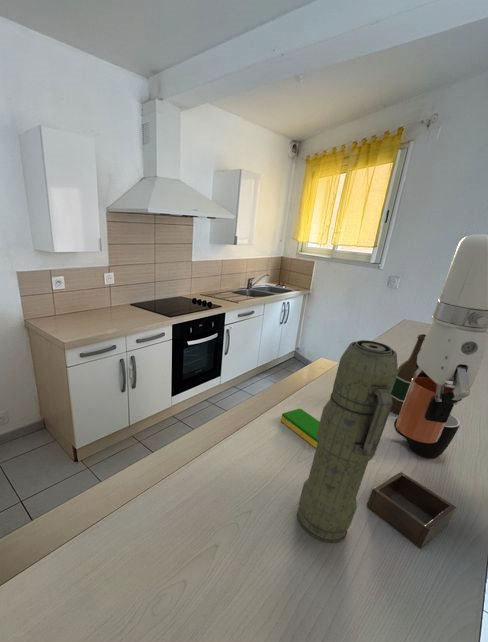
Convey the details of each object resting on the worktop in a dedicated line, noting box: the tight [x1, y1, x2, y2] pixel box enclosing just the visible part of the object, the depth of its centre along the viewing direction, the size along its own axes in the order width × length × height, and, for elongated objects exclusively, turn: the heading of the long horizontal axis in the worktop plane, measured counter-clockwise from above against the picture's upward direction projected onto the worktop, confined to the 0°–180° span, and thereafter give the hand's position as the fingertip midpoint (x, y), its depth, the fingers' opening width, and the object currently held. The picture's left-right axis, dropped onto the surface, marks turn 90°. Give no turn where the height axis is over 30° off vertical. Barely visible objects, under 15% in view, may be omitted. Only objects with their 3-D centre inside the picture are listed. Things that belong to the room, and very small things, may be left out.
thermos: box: [296, 339, 399, 544], centre depth 53 cm, size 9×12×35 cm
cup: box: [396, 377, 451, 443], centre depth 59 cm, size 7×7×10 cm
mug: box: [393, 413, 461, 459], centre depth 80 cm, size 12×9×10 cm
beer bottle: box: [390, 333, 426, 415], centre depth 94 cm, size 8×8×24 cm
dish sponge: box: [280, 408, 320, 449], centre depth 85 cm, size 7×14×2 cm, turn 28°
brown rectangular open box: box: [366, 471, 457, 549], centre depth 61 cm, size 10×10×4 cm
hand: (425, 408), depth 59 cm, fingers closed on cup, 6 cm apart
